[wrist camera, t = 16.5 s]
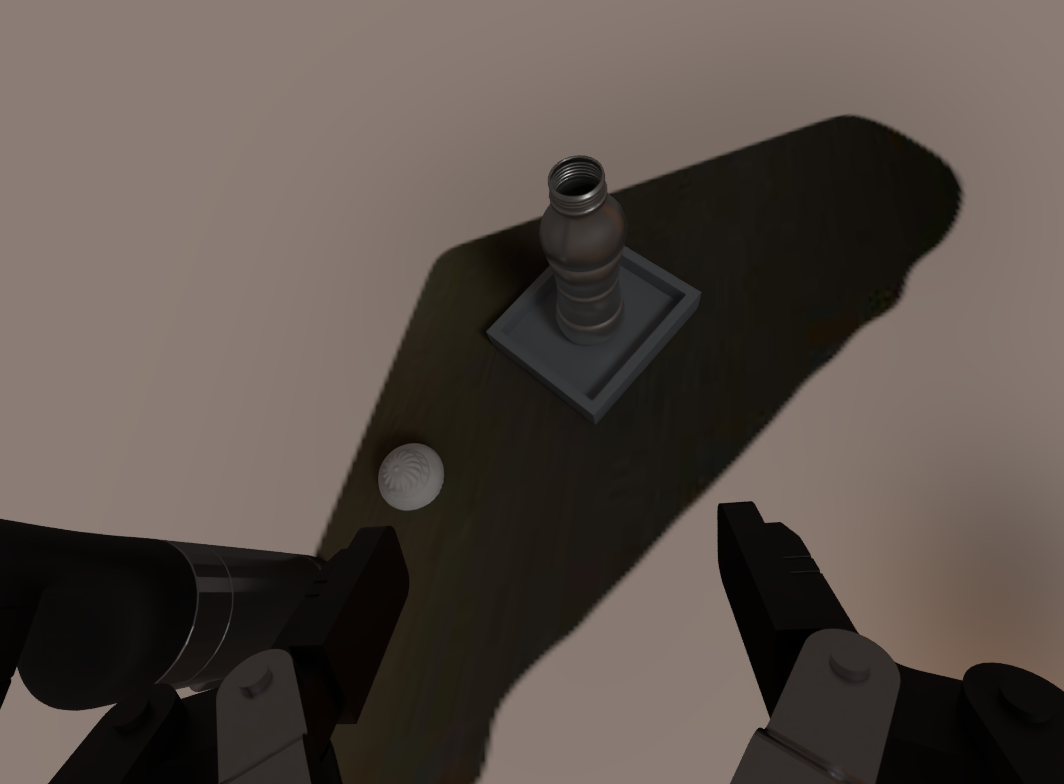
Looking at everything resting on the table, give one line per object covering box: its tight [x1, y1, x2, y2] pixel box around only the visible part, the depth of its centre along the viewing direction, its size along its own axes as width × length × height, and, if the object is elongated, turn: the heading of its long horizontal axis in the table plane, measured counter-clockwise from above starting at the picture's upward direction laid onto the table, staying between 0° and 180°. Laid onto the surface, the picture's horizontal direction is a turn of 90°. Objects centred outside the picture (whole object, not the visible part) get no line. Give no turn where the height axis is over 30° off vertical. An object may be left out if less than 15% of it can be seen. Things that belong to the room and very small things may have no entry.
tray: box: [486, 246, 701, 425], centre depth 51 cm, size 16×14×3 cm
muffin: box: [378, 443, 444, 510], centre depth 46 cm, size 6×6×7 cm
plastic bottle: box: [539, 156, 627, 346], centre depth 42 cm, size 6×7×20 cm
